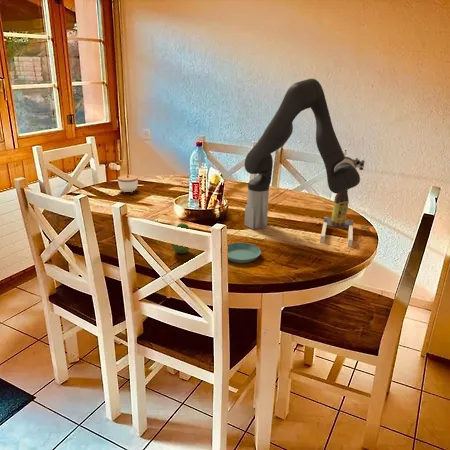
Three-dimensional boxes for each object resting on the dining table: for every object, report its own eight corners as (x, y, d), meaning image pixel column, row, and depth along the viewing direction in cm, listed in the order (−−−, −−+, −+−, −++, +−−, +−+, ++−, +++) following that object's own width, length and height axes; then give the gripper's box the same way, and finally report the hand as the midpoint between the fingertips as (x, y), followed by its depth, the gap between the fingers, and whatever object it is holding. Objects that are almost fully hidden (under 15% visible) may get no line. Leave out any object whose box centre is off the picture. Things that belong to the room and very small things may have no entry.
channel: (351, 246, 168) (353, 235, 166) (320, 242, 171) (321, 231, 169) (352, 230, 184) (353, 219, 182) (323, 227, 187) (324, 216, 185)
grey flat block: (349, 228, 186) (349, 227, 186) (326, 225, 189) (326, 224, 189) (349, 220, 195) (349, 220, 195) (327, 218, 198) (327, 217, 198)
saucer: (221, 265, 151) (221, 259, 150) (221, 248, 164) (221, 242, 163) (262, 266, 151) (262, 259, 150) (258, 248, 165) (259, 242, 164)
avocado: (193, 256, 157) (193, 226, 152) (172, 257, 155) (171, 227, 151) (190, 247, 164) (190, 218, 160) (170, 248, 162) (169, 220, 158)
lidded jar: (122, 187, 236) (121, 171, 233) (141, 188, 235) (140, 172, 232) (115, 193, 226) (114, 176, 223) (134, 194, 225) (133, 177, 222)
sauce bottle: (337, 228, 185) (343, 185, 178) (327, 223, 190) (333, 181, 182) (348, 225, 189) (354, 183, 181) (338, 220, 193) (344, 179, 186)
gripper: (324, 176, 159) (326, 167, 173) (363, 180, 155) (362, 170, 170) (326, 157, 156) (328, 149, 170) (366, 160, 152) (365, 152, 167)
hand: (345, 159), depth 170 cm, fingers open, 8 cm apart
